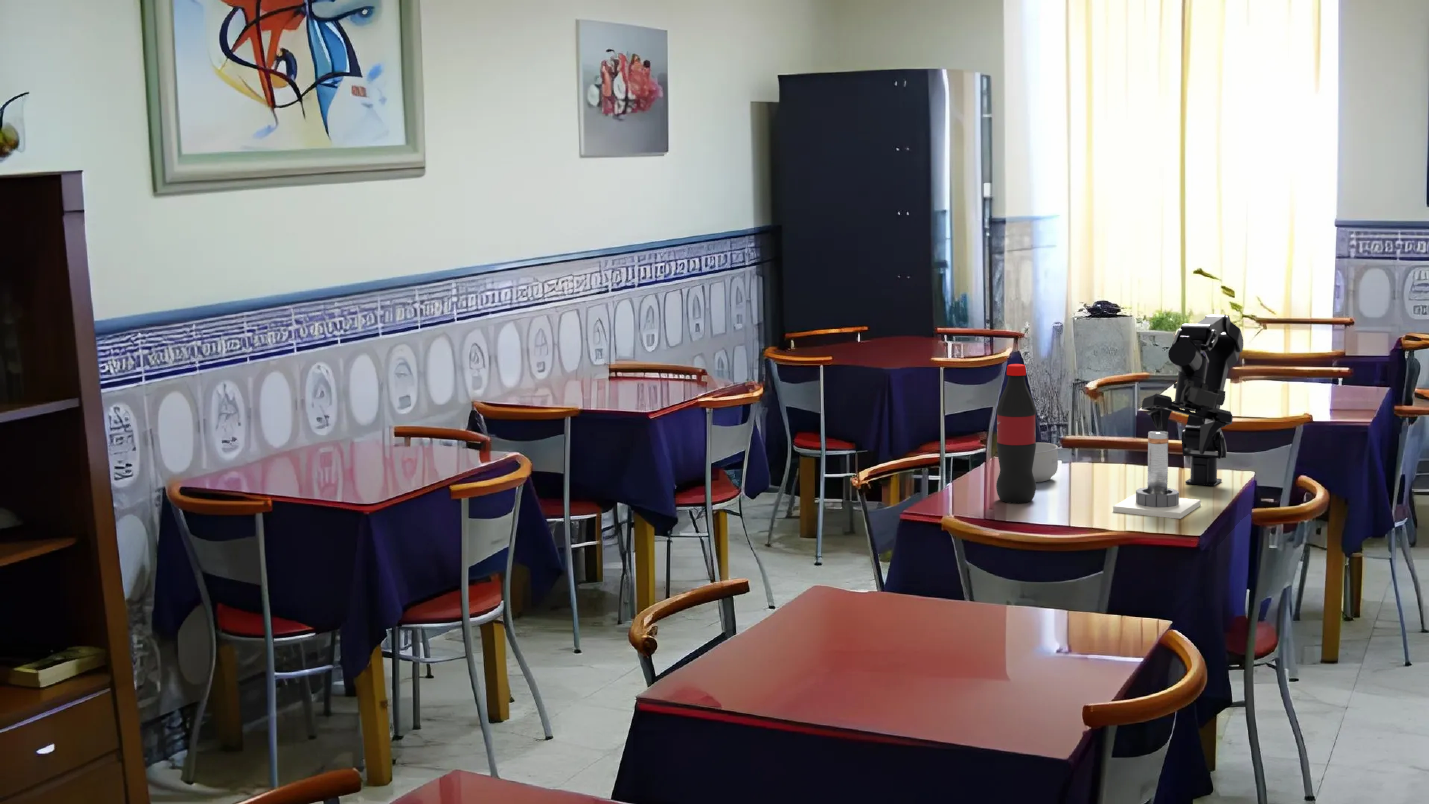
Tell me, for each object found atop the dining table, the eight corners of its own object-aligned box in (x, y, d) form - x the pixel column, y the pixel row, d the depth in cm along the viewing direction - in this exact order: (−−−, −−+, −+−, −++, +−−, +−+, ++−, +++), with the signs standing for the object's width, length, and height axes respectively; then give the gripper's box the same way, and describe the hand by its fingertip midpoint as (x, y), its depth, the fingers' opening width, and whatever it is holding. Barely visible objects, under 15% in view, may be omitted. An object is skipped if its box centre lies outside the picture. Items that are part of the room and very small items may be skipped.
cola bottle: (1033, 496, 321) (1034, 361, 316) (1038, 504, 313) (1038, 366, 308) (994, 496, 322) (994, 362, 317) (998, 505, 313) (998, 367, 309)
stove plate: (1135, 498, 315) (1135, 482, 315) (1200, 505, 307) (1200, 488, 307) (1113, 511, 304) (1113, 494, 303) (1180, 518, 296) (1180, 501, 296)
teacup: (1062, 484, 333) (1062, 449, 332) (1014, 485, 333) (1014, 450, 332) (1049, 472, 347) (1049, 439, 346) (1004, 473, 347) (1004, 440, 346)
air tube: (1145, 500, 308) (1146, 431, 306) (1165, 500, 307) (1166, 430, 305) (1148, 505, 304) (1149, 434, 302) (1169, 505, 303) (1170, 434, 301)
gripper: (1171, 362, 306) (1162, 434, 303) (1250, 382, 309) (1242, 453, 306) (1145, 372, 317) (1135, 441, 313) (1222, 391, 320) (1213, 460, 317)
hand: (1182, 449), depth 312 cm, fingers open, 9 cm apart
